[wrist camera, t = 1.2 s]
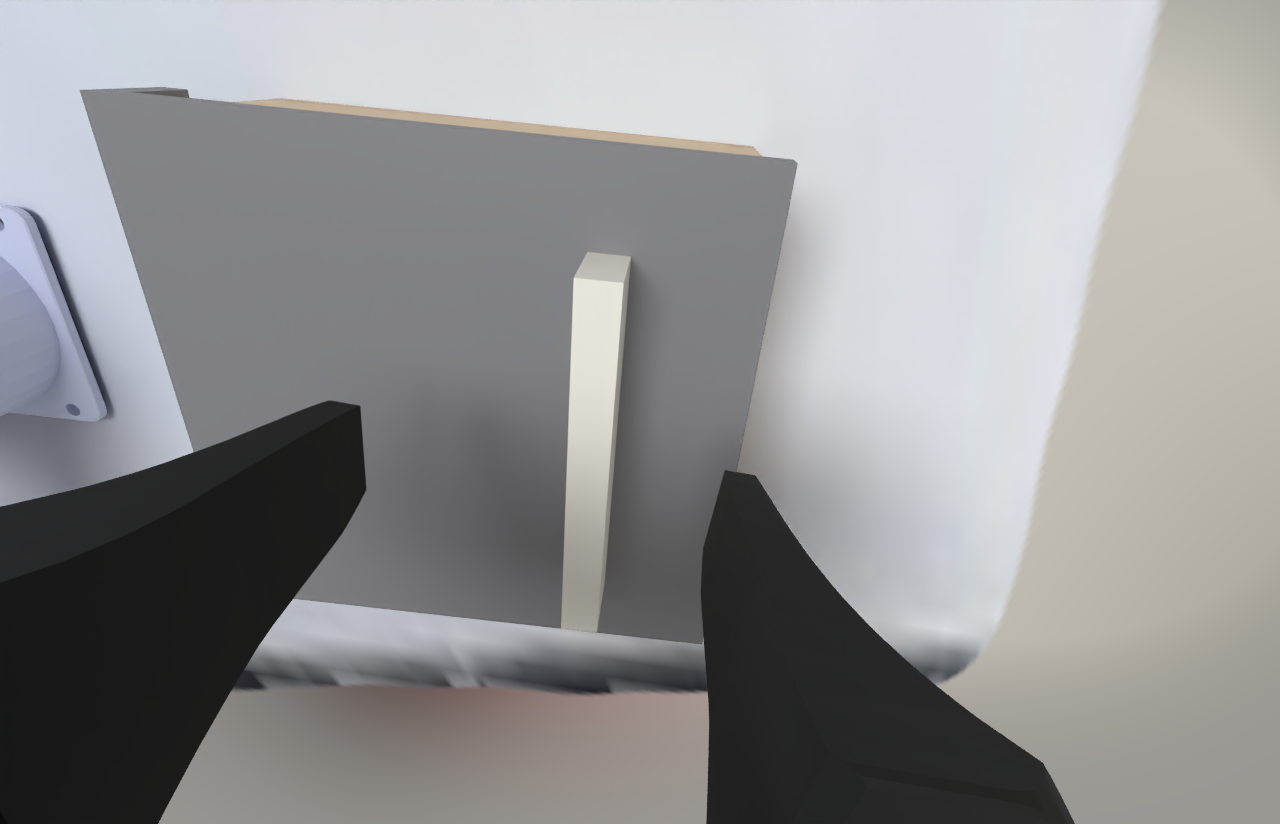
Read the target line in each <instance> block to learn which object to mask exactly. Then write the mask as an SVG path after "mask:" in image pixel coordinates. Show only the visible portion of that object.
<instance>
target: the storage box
mask: <svg viewBox="0 0 1280 824" xmlns="http://www.w3.org/2000/svg"><path fill="white" fill-rule="evenodd" d="M233 103H242V104H252V105H262V106H272V107H281V108H291V109H301V110H311V111H321V112H330V113H340V114H350V115H360V116H370V117H379V118H389V119H399V120H409V121H419V122H428V123H438V124H448V125H458V126H467V127H477V128H487V129H497V130H507V131H516V132H526V133H536V134H546V135H556V136H565V137H575V138H585V139H595V140H604V141H614V142H624V143H634V144H644V145H653V146H663V147H673V148H683V149H693V150H702V151H712V152H722V153H732V154H741V155H751V156H761V155H760V154H759V153H758V151H757V150H756V149H755V148H754V147H752V146H742V145H733V144H723V143H713V142H703V141H693V140H684V139H674V138H664V137H654V136H644V135H635V134H625V133H615V132H605V131H595V130H586V129H576V128H566V127H556V126H546V125H537V124H527V123H517V122H507V121H497V120H488V119H478V118H468V117H458V116H448V115H439V114H429V113H419V112H409V111H399V110H390V109H380V108H370V107H360V106H350V105H341V104H331V103H321V102H311V101H301V100H292V99H271V100H257V101H243V102H233ZM761 157H762V156H761Z"/></svg>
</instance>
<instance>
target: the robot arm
mask: <svg viewBox="0 0 1280 824" xmlns="http://www.w3.org/2000/svg"><path fill="white" fill-rule="evenodd" d="M0 219H1V220H2V221H3V223H4V224H2V222H1V221H0V416H2V415H4V414H6V413H14V414H24V415H33V416H42V417H51V418H60V419H70V420H79V421H88V422H96V421H98V420H100V419H101V418H103V417H105V416H106V414H107V408H106V406H105V403H104V400H103V398H102V395H101V392H100V390H99V387H98V385H97V382H96V379H95V377H94V374H93V371H92V369H91V366H90V364H89V361H88V358H87V356H86V353H85V351H84V348H83V345H82V343H81V340H80V337H79V335H78V332H77V330H76V327H75V324H74V322H73V319H72V316H71V314H70V311H69V309H68V306H67V303H66V301H65V298H64V296H63V293H62V290H61V288H60V285H59V282H58V280H57V277H56V275H55V272H54V269H53V267H52V264H51V261H50V259H49V256H48V254H47V251H46V248H45V246H44V243H43V241H42V238H41V235H40V233H39V230H38V227H37V225H36V222H35V221H34V219H33V217H32V216H31V215H30V214H29V213H28V212H26V211H25V210H23V209H22V208H19V207H15V206H7V205H0ZM366 490H367V489H366V476H365V462H364V448H363V435H362V421H361V407H360V405H354V404H348V403H343V402H337V401H331V400H328V401H325V402H322V403H319V404H316V405H313V406H310V407H308V408H305V409H303V410H300V411H297V412H295V413H292V414H290V415H288V416H285V417H283V418H280V419H278V420H275V421H273V422H270V423H268V424H265V425H263V426H261V427H258V428H256V429H253V430H251V431H248V432H246V433H243V434H241V435H238V436H236V437H233V438H231V439H228V440H226V441H223V442H221V443H218V444H215V445H212V446H210V447H207V448H204V449H202V450H199V451H196V452H193V453H191V454H188V455H185V456H183V457H180V458H177V459H174V460H172V461H169V462H166V463H163V464H160V465H157V466H154V467H151V468H148V469H145V470H142V471H139V472H135V473H132V474H129V475H125V476H122V477H119V478H115V479H112V480H108V481H105V482H101V483H98V484H94V485H91V486H87V487H83V488H79V489H75V490H71V491H67V492H62V493H58V494H54V495H49V496H45V497H41V498H37V499H32V500H28V501H24V502H20V503H15V504H11V505H7V506H2V507H0V824H158V823H159V821H160V819H161V817H162V815H163V813H164V811H165V809H166V807H167V805H168V803H169V801H170V800H171V798H172V796H173V794H174V792H175V790H176V789H177V787H178V785H179V783H180V781H181V779H182V777H183V775H184V773H185V772H186V769H187V768H188V766H189V764H190V762H191V760H192V758H193V757H194V755H195V753H196V751H197V749H198V747H199V746H200V744H201V742H202V740H203V739H204V737H205V735H206V733H207V732H208V730H209V728H210V726H211V725H212V723H213V721H214V719H215V718H216V716H217V714H218V712H219V711H220V709H221V707H222V705H223V704H224V702H225V700H226V699H227V697H228V695H229V693H230V692H231V690H232V688H233V687H234V685H235V684H236V682H237V680H238V679H239V677H240V675H241V674H242V672H243V670H244V669H245V667H246V665H247V664H248V662H249V661H250V659H251V657H252V656H253V654H254V652H255V651H256V649H257V648H258V646H259V644H260V643H261V642H262V640H263V639H264V637H265V636H266V634H267V633H268V632H269V630H270V629H271V627H272V626H273V624H274V623H275V622H276V620H277V619H278V618H279V617H280V615H281V614H282V613H283V611H284V610H285V609H286V607H287V606H288V605H289V603H290V602H291V601H292V599H293V598H294V597H295V596H296V594H297V593H298V592H299V590H300V589H301V588H302V586H303V585H304V584H305V582H306V581H307V580H308V579H309V577H310V576H311V575H312V573H313V572H314V571H315V569H316V568H317V567H318V565H319V564H320V563H321V562H322V560H323V559H324V557H325V556H326V555H327V553H328V552H329V551H330V549H331V548H332V547H333V545H334V544H335V543H336V541H337V540H338V539H339V537H340V536H341V535H342V533H343V532H344V530H345V528H346V527H347V525H348V523H349V521H350V520H351V518H352V516H353V514H354V513H355V511H356V509H357V507H358V505H359V503H360V501H361V499H362V498H363V496H364V494H365V492H366ZM701 608H702V622H703V636H704V648H705V661H706V674H707V687H708V698H709V699H708V700H709V759H708V760H709V761H708V794H707V824H1075V823H1074V821H1073V819H1072V817H1071V815H1070V813H1069V811H1068V809H1067V807H1066V805H1065V803H1064V801H1063V799H1062V797H1061V795H1060V793H1059V792H1058V790H1057V788H1056V786H1055V784H1054V782H1053V780H1052V778H1051V776H1050V774H1049V773H1048V771H1047V769H1046V768H1045V766H1044V764H1043V763H1042V762H1041V761H1039V760H1038V759H1036V758H1035V757H1033V756H1032V755H1030V754H1029V753H1028V752H1026V751H1025V750H1023V749H1022V748H1021V747H1019V746H1018V745H1016V744H1015V743H1013V742H1012V741H1010V740H1009V739H1007V738H1006V737H1005V736H1003V735H1002V734H1000V733H998V732H997V731H996V730H994V729H993V728H991V727H990V726H989V725H987V724H986V723H984V722H983V721H981V720H980V719H979V718H977V717H976V716H974V715H973V714H972V713H970V712H969V711H968V710H966V709H965V708H964V707H963V706H961V705H960V704H959V703H957V702H956V701H955V700H954V699H952V698H951V697H950V696H949V695H947V694H946V693H945V692H943V691H942V690H941V689H940V688H938V687H937V686H936V685H935V684H933V683H932V682H931V681H930V680H929V679H927V678H926V677H925V676H924V675H923V674H921V673H920V672H919V671H918V670H917V669H915V668H914V667H913V666H912V665H911V664H910V663H909V662H908V661H906V660H905V659H904V658H903V657H902V656H901V655H900V654H899V653H898V652H897V651H895V650H894V649H893V648H892V647H891V646H890V645H889V644H888V643H887V642H886V641H884V640H883V639H882V638H881V637H880V636H879V635H878V634H877V633H876V632H875V631H874V630H873V629H872V628H871V627H870V626H869V625H868V624H867V623H866V622H865V621H864V620H863V619H862V618H861V617H860V615H859V614H858V613H857V612H856V611H855V610H854V609H853V608H852V607H851V606H850V605H849V604H848V603H847V602H846V601H845V600H844V598H843V597H842V596H841V595H840V594H839V593H838V592H837V590H836V589H835V588H834V587H833V586H832V585H831V583H830V582H829V581H828V580H827V578H826V577H825V576H824V575H823V573H822V572H821V571H820V570H819V568H818V567H817V566H816V565H815V563H814V562H813V561H812V560H811V558H810V557H809V556H808V554H807V553H806V552H805V550H804V549H803V547H802V546H801V544H800V543H799V542H798V540H797V539H796V537H795V536H794V534H793V533H792V532H791V530H790V529H789V527H788V526H787V524H786V523H785V521H784V520H783V518H782V517H781V515H780V513H779V512H778V510H777V509H776V507H775V506H774V504H773V502H772V501H771V499H770V498H769V496H768V494H767V493H766V491H765V490H764V488H763V486H762V485H761V483H760V482H759V480H758V479H757V477H756V476H755V475H749V474H744V473H738V472H733V471H727V470H725V471H724V474H723V478H722V482H721V485H720V489H719V492H718V496H717V500H716V503H715V507H714V510H713V514H712V518H711V521H710V525H709V528H708V532H707V536H706V539H705V543H704V547H703V555H702V572H701Z"/></svg>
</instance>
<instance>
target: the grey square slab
mask: <svg viewBox="0 0 1280 824" xmlns="http://www.w3.org/2000/svg"><path fill="white" fill-rule="evenodd" d="M80 93H81V96H82V99H83V102H84V105H85V108H86V112H87V115H88V118H89V121H90V124H91V127H92V131H93V134H94V137H95V140H96V143H97V146H98V150H99V153H100V156H101V159H102V162H103V165H104V169H105V172H106V175H107V178H108V181H109V184H110V188H111V191H112V194H113V197H114V200H115V204H116V207H117V210H118V213H119V216H120V219H121V223H122V226H123V229H124V232H125V235H126V238H127V242H128V245H129V248H130V251H131V254H132V257H133V261H134V264H135V267H136V270H137V273H138V276H139V280H140V283H141V286H142V289H143V292H144V295H145V299H146V302H147V305H148V308H149V311H150V314H151V318H152V321H153V324H154V327H155V330H156V333H157V337H158V340H159V343H160V346H161V349H162V353H163V356H164V359H165V362H166V365H167V368H168V372H169V375H170V378H171V381H172V384H173V387H174V391H175V394H176V397H177V400H178V403H179V406H180V410H181V413H182V416H183V419H184V422H185V425H186V429H187V432H188V435H189V438H190V441H191V444H192V448H193V451H194V452H196V451H199V450H202V449H204V448H207V447H210V446H212V445H215V444H218V443H221V442H223V441H226V440H228V439H231V438H233V437H236V436H238V435H241V434H243V433H246V432H248V431H251V430H253V429H256V428H258V427H261V426H263V425H265V424H268V423H270V422H273V421H275V420H278V419H280V418H283V417H285V416H288V415H290V414H292V413H295V412H297V411H300V410H303V409H305V408H308V407H310V406H313V405H316V404H319V403H322V402H325V401H328V400H331V401H337V402H343V403H348V404H354V405H360V407H361V421H362V435H363V448H364V462H365V476H366V489H367V490H366V492H365V494H364V496H363V498H362V499H361V501H360V503H359V505H358V507H357V509H356V511H355V513H354V514H353V516H352V518H351V520H350V521H349V523H348V525H347V527H346V528H345V530H344V532H343V533H342V535H341V536H340V537H339V539H338V540H337V541H336V543H335V544H334V545H333V547H332V548H331V549H330V551H329V552H328V553H327V555H326V556H325V557H324V559H323V560H322V562H321V563H320V564H319V565H318V567H317V568H316V569H315V571H314V572H313V573H312V575H311V576H310V577H309V579H308V580H307V581H306V582H305V584H304V585H303V586H302V588H301V589H300V590H299V592H298V593H297V594H296V596H295V597H294V598H293V599H301V600H310V601H319V602H328V603H337V604H346V605H355V606H364V607H373V608H382V609H391V610H400V611H409V612H418V613H427V614H436V615H445V616H453V617H462V618H471V619H480V620H489V621H498V622H507V623H516V624H525V625H534V626H543V627H552V628H561V629H568V630H577V631H586V632H595V633H606V634H615V635H623V636H632V637H641V638H650V639H659V640H668V641H677V642H686V643H695V644H702V642H703V637H704V636H703V622H702V608H701V572H702V555H703V547H704V543H705V539H706V536H707V532H708V528H709V525H710V521H711V518H712V514H713V510H714V507H715V503H716V500H717V496H718V492H719V489H720V485H721V482H722V478H723V474H724V471H725V470H727V471H733V472H736V471H737V466H738V461H739V456H740V451H741V446H742V441H743V436H744V431H745V426H746V420H747V415H748V410H749V405H750V400H751V395H752V390H753V385H754V380H755V375H756V370H757V365H758V360H759V355H760V350H761V345H762V340H763V335H764V330H765V325H766V320H767V315H768V310H769V305H770V300H771V295H772V290H773V285H774V280H775V275H776V270H777V265H778V259H779V254H780V249H781V244H782V239H783V234H784V229H785V224H786V219H787V214H788V209H789V204H790V199H791V194H792V189H793V184H794V179H795V174H796V169H797V164H798V163H796V162H795V161H794V160H790V159H781V158H771V157H761V156H751V155H741V154H732V153H722V152H712V151H702V150H693V149H683V148H673V147H663V146H653V145H644V144H634V143H624V142H614V141H604V140H595V139H585V138H575V137H565V136H556V135H546V134H536V133H526V132H516V131H507V130H497V129H487V128H477V127H467V126H458V125H448V124H438V123H428V122H419V121H409V120H399V119H389V118H379V117H370V116H360V115H350V114H340V113H330V112H321V111H311V110H301V109H291V108H281V107H272V106H262V105H252V104H242V103H233V102H223V101H213V100H203V99H193V98H189V94H188V90H186V89H176V88H166V87H154V88H125V89H96V90H80Z"/></svg>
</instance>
